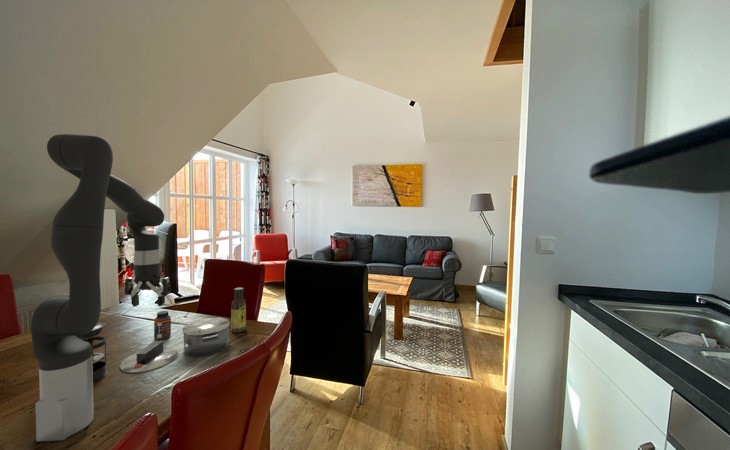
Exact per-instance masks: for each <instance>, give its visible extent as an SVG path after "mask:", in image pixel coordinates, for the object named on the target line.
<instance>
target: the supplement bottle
mask: <svg viewBox="0 0 730 450" xmlns="http://www.w3.org/2000/svg"><path fill="white" fill-rule="evenodd" d="M153 321H154V322H153V328H154V329H153V338H154V340H155V341H164V340H166V339H168V338H170V337H171V335H172V317H171V315H169V310H162V311H161V310H160V311H158V312H157V313H156V317H155V318H154V319H153Z"/></svg>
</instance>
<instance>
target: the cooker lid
mask: <svg viewBox="0 0 730 450" xmlns="http://www.w3.org/2000/svg"><path fill="white" fill-rule="evenodd" d="M178 356H179V350H178V348H175V347H172V346H164V340H155V341H153V342H152V343H150V344H149V345H147V346H146V347H144V348H142V350H140V351H139V352H136V353H133V354H132V355H129V356H128V357H126V358H125V359H123V360H122V362H120V370H121V371H122V372H124V373H129V374H136V373H144V372H150V371H153V370H156V369H159V368H161V367H163V366H166V365H168V364H170V363H172V362H173V361H174V360H176V359H177V357H178Z"/></svg>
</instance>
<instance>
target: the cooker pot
mask: <svg viewBox="0 0 730 450" xmlns="http://www.w3.org/2000/svg"><path fill="white" fill-rule="evenodd" d="M229 326H231V320H229V319H228V318H224V317H208V318H201V319H197V320H195V321H191V322H190V323H187V324H185V325H184V326H183V327H182V330H181V331H182V334H183V354H184V355H185V356H187V357H190V358H191V357H192V358H201V357H208V356H212V355H215V354H217V353H220V352H222V351H224V350H226V349H227V348H228V346H229V344H230V342H229V341H230V340H229V338H230V336H229V334H230V331H229V329H230V327H229Z"/></svg>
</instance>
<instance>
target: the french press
mask: <svg viewBox="0 0 730 450" xmlns="http://www.w3.org/2000/svg"><path fill="white" fill-rule="evenodd" d="M106 326H107V323H106V322H102V321H101V322H100V321H98V323H97V324H96V326H95V327H94V329H93V330H91V331H90V332H89V333H87V334H84V335H78V336H76V337H78V338H79V339H81V340H83V341H85V342H88V343H90V344H91V346H92V362H93V383H95V382H98V381H100V380H102V379H103V378H104V377H106V376H107V375H108V373H109V371H108V369H107V368H108V367H107V366H108V365H107V364H108V363H107V337H106V336H102V335H99V334H100V333H101V332H102V331H103V329H104V328H105V327H106ZM94 341H101V342H99V343H96V344H94ZM103 346H104V352H94V350H96V349H98V348H99V349H100V348H101V347H103ZM104 358H105V361H104Z"/></svg>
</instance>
